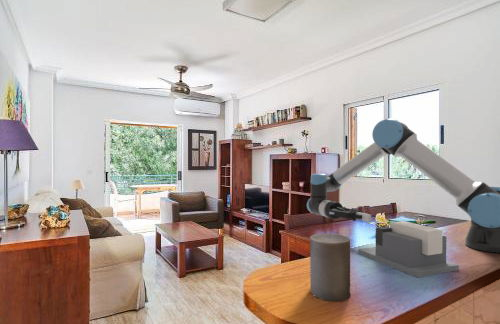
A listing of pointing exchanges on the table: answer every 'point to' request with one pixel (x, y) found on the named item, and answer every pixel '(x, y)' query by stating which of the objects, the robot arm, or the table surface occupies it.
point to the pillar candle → (330, 266)
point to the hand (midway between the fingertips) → (369, 218)
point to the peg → (421, 235)
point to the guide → (407, 254)
